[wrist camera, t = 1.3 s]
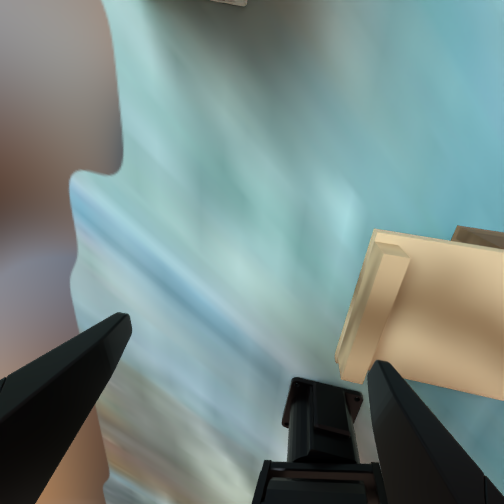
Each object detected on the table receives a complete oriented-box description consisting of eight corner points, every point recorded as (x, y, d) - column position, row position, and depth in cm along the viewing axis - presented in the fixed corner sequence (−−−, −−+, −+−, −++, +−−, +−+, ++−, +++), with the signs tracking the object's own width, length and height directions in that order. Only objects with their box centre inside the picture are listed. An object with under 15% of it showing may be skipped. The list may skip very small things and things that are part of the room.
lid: (513, 395, 16) (547, 434, 14) (334, 355, 18) (339, 385, 16) (604, 265, 13) (668, 290, 11) (373, 228, 14) (387, 243, 12)
